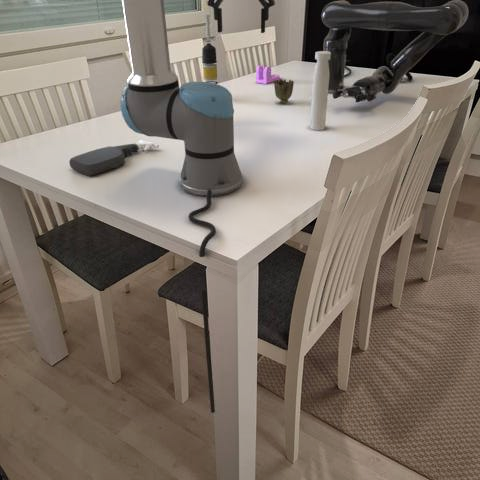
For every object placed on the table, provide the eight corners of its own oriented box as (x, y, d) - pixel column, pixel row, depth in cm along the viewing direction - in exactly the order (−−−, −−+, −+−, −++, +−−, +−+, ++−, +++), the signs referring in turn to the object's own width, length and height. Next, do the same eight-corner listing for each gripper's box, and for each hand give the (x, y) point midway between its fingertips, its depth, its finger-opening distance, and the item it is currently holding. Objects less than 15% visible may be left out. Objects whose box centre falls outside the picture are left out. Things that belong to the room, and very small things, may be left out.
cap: (313, 57, 136) (314, 51, 135) (328, 57, 136) (328, 50, 135) (316, 60, 132) (317, 54, 131) (331, 60, 132) (332, 53, 132)
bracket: (266, 84, 198) (266, 67, 194) (256, 82, 201) (256, 66, 197) (281, 78, 207) (282, 62, 203) (271, 77, 210) (272, 61, 206)
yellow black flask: (220, 99, 177) (217, 15, 161) (206, 100, 176) (202, 16, 160) (215, 96, 182) (212, 14, 166) (202, 97, 180) (197, 14, 164)
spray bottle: (67, 168, 120) (139, 144, 136) (91, 178, 114) (163, 151, 130) (65, 157, 118) (137, 134, 134) (89, 167, 112) (162, 142, 128)
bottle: (308, 125, 148) (313, 52, 136) (323, 125, 148) (329, 52, 136) (311, 130, 143) (316, 55, 131) (326, 130, 144) (333, 55, 132)
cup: (270, 104, 170) (270, 82, 166) (278, 99, 176) (278, 78, 171) (288, 106, 167) (289, 84, 163) (295, 101, 173) (296, 80, 168)
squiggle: (400, 92, 202) (376, 71, 205) (417, 76, 202) (392, 56, 205) (405, 81, 191) (380, 59, 194) (423, 64, 191) (397, 42, 194)
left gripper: (285, -51, 127) (283, 31, 138) (202, -49, 132) (206, 30, 143) (281, -52, 121) (279, 34, 132) (194, -50, 126) (199, 33, 137)
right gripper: (349, 75, 165) (327, 83, 154) (386, 80, 157) (366, 89, 147) (347, 95, 169) (326, 105, 158) (383, 101, 161) (363, 112, 151)
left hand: (241, 32), depth 137 cm, fingers open, 13 cm apart
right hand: (345, 97), depth 152 cm, fingers open, 8 cm apart
